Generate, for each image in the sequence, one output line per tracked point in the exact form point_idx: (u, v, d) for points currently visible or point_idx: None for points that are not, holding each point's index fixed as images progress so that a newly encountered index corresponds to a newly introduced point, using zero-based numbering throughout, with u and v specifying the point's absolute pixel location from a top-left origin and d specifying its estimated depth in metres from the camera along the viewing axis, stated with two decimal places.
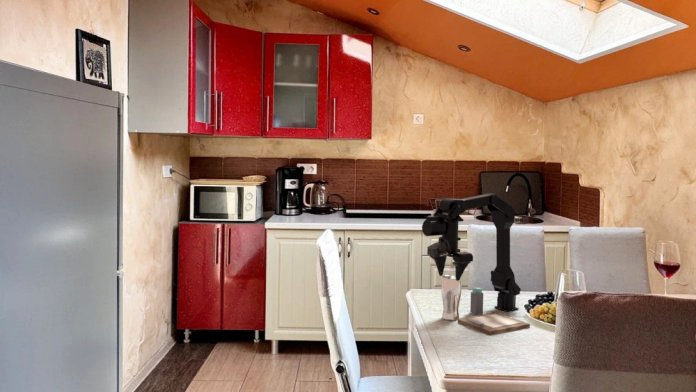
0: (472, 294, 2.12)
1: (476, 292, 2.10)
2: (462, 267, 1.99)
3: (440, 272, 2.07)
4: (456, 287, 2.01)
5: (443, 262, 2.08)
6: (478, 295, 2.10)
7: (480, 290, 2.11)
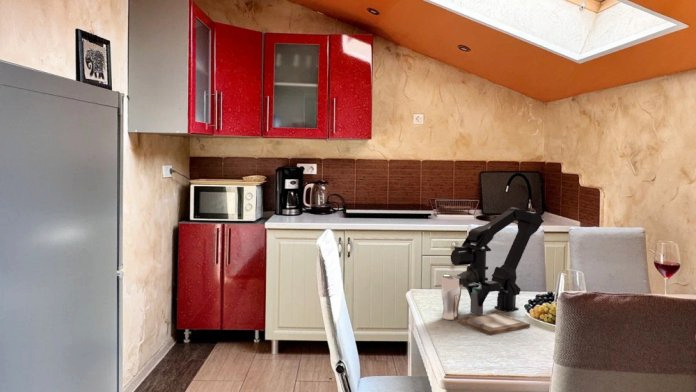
0: (472, 294, 2.12)
1: (476, 292, 2.10)
2: (484, 294, 2.10)
3: None
4: (456, 287, 2.01)
5: None
6: None
7: None
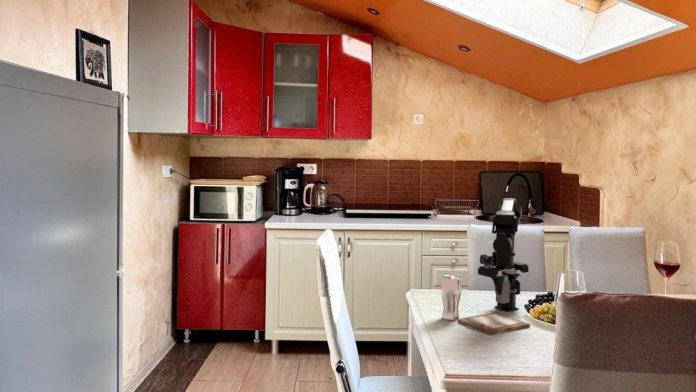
0: None
1: None
2: (498, 281, 1.97)
3: None
4: (456, 287, 2.01)
5: (510, 280, 1.99)
6: None
7: None
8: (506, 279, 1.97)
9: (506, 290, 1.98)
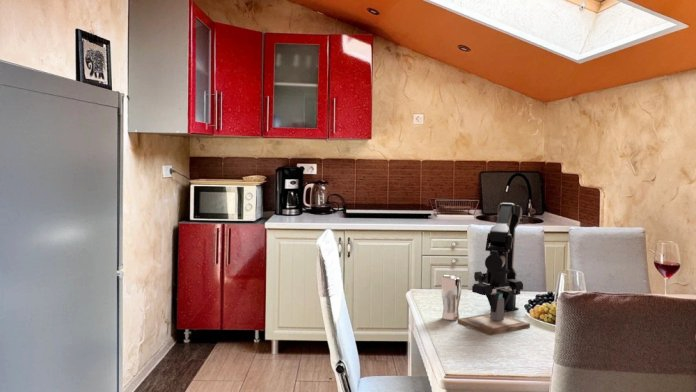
0: None
1: None
2: (492, 299, 1.96)
3: None
4: (456, 287, 2.01)
5: (504, 298, 1.98)
6: None
7: None
8: (500, 297, 1.97)
9: (500, 308, 1.97)
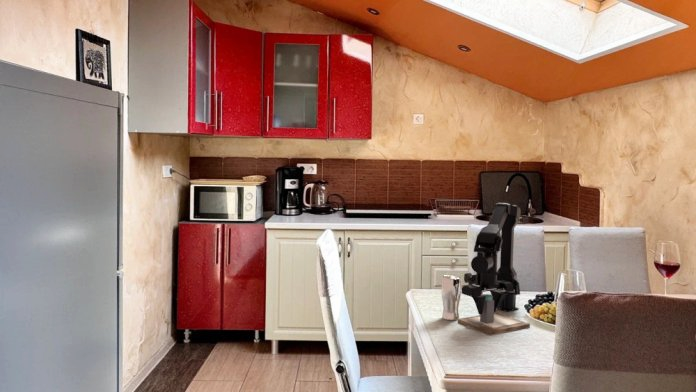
0: None
1: None
2: (479, 301, 1.93)
3: None
4: (456, 287, 2.01)
5: (497, 299, 1.96)
6: None
7: None
8: (490, 299, 1.94)
9: (490, 310, 1.95)
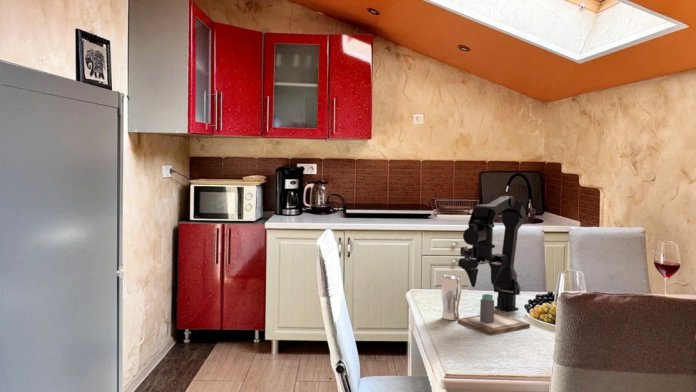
0: None
1: (482, 298, 1.96)
2: (472, 274, 1.97)
3: (491, 280, 2.04)
4: (456, 287, 2.01)
5: (496, 271, 2.02)
6: (482, 301, 1.96)
7: (484, 297, 1.95)
8: (490, 299, 1.94)
9: (490, 310, 1.95)
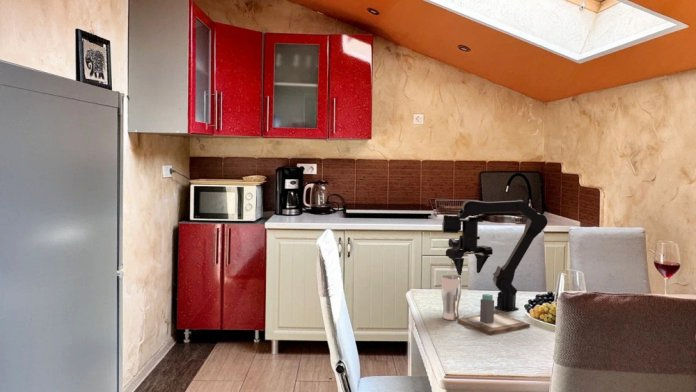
0: None
1: (482, 298, 1.96)
2: (458, 263, 2.15)
3: (477, 269, 2.21)
4: (456, 287, 2.01)
5: (481, 261, 2.20)
6: (482, 301, 1.96)
7: (484, 297, 1.95)
8: (490, 299, 1.94)
9: (490, 310, 1.95)
